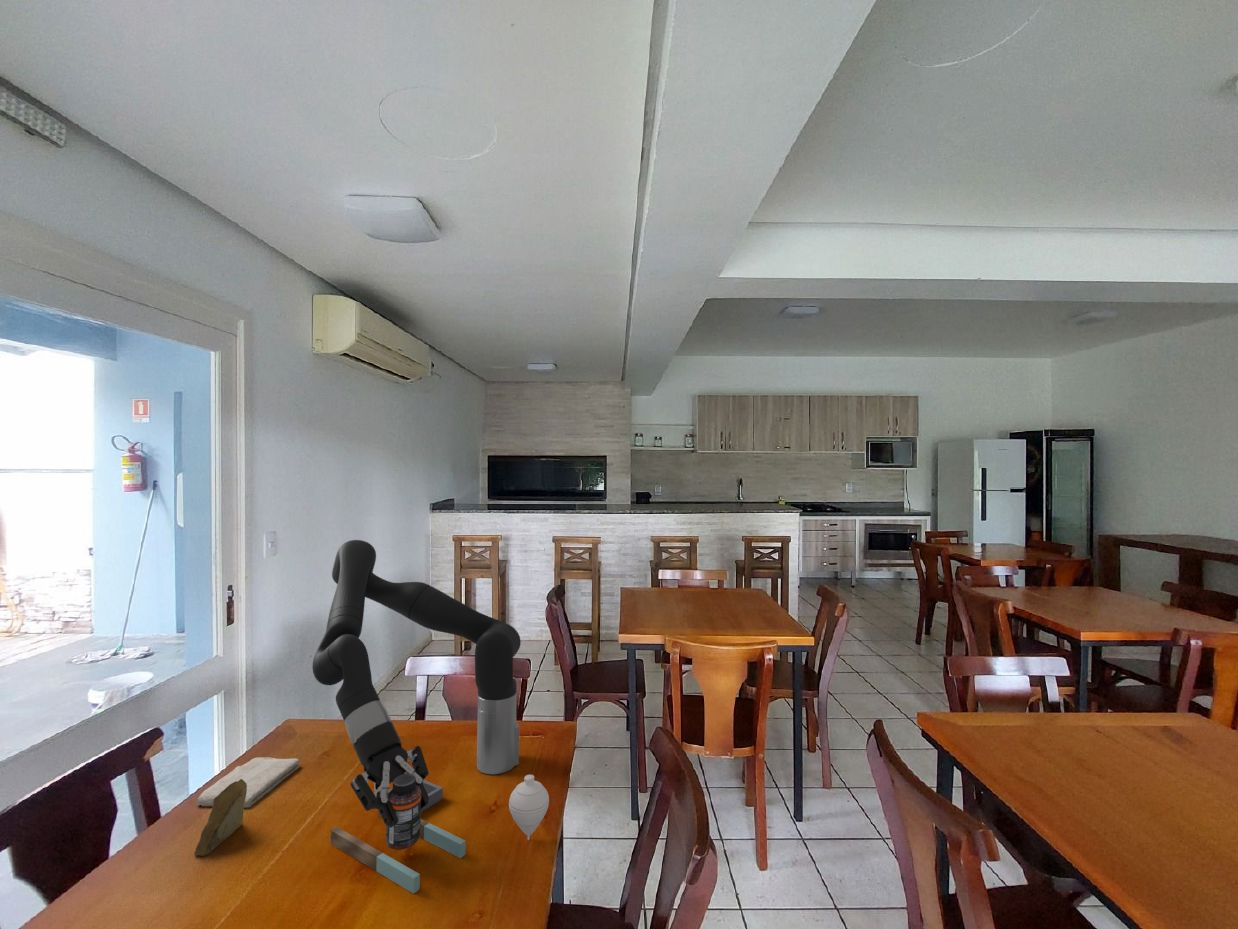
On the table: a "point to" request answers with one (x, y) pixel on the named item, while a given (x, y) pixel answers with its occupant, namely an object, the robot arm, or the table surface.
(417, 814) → the supplement bottle
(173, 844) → the table surface
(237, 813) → the rock
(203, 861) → the table surface
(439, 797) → the grey square tray
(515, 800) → the spinning top
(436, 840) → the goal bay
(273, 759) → the washcloth
